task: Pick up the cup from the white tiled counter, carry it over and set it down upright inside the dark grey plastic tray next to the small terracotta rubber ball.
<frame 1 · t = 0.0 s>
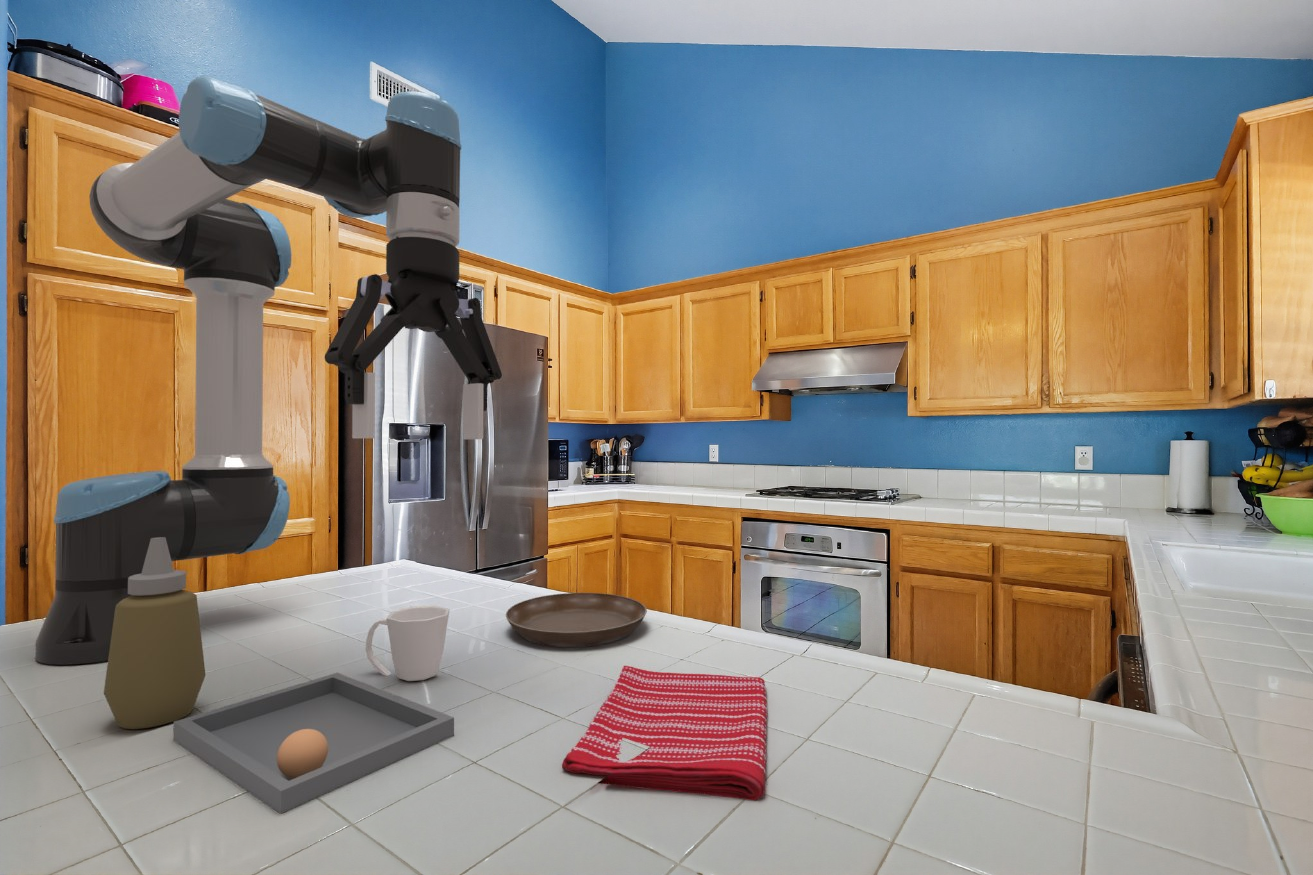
hand: (422, 439, 69), 28 cm above the countertop, fingers open, 13 cm apart
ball: (302, 775, 51), point 1 cm above the countertop, touching tray
dish towel: (677, 735, 61), on the countertop
cup: (406, 684, 73), on the countertop
squeeze bottle: (156, 720, 63), on the countertop
plant saucer: (577, 632, 94), on the countertop
tray: (314, 746, 58), on the countertop
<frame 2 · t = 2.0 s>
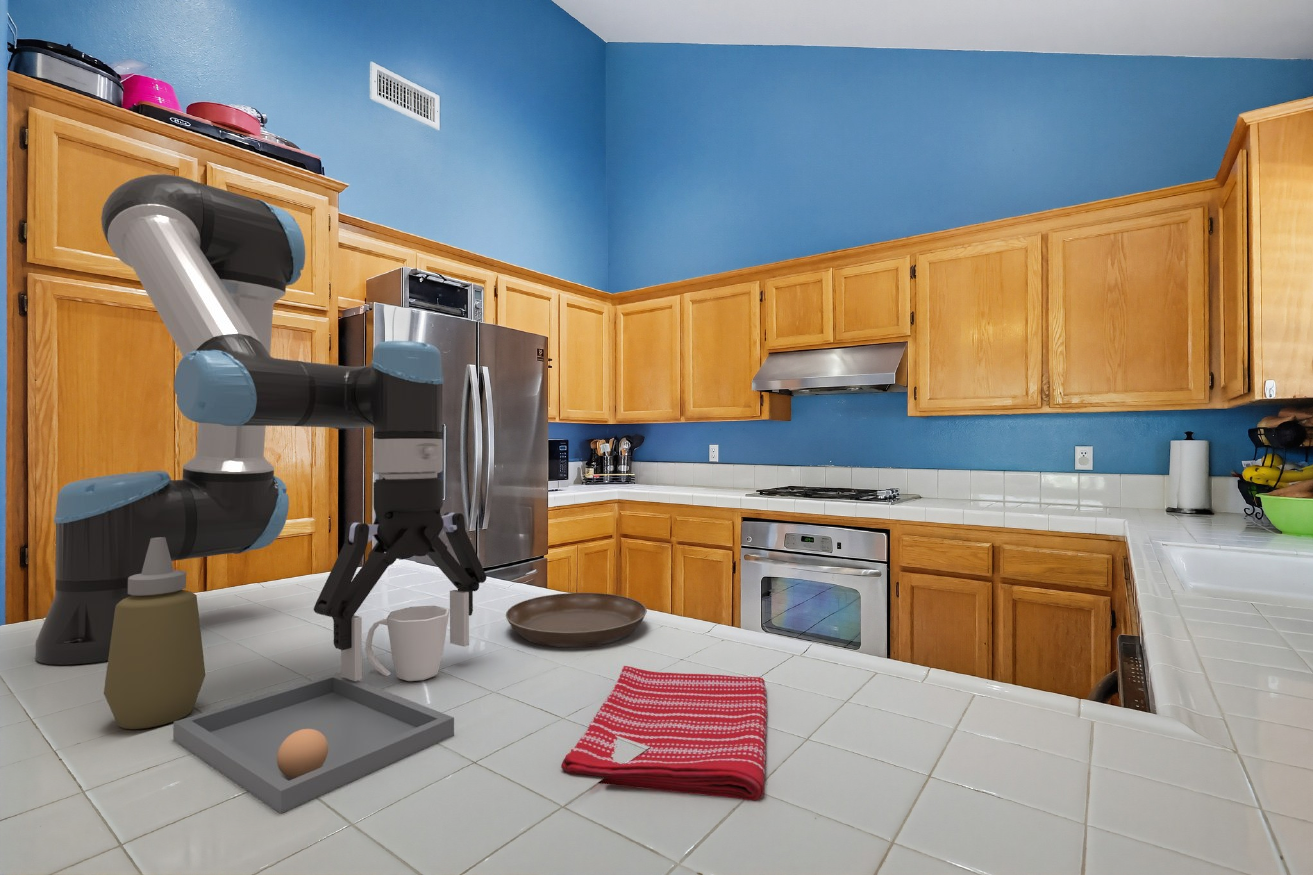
hand: (409, 661, 73), 2 cm above the countertop, fingers open, 13 cm apart
nothing on the countertop moved.
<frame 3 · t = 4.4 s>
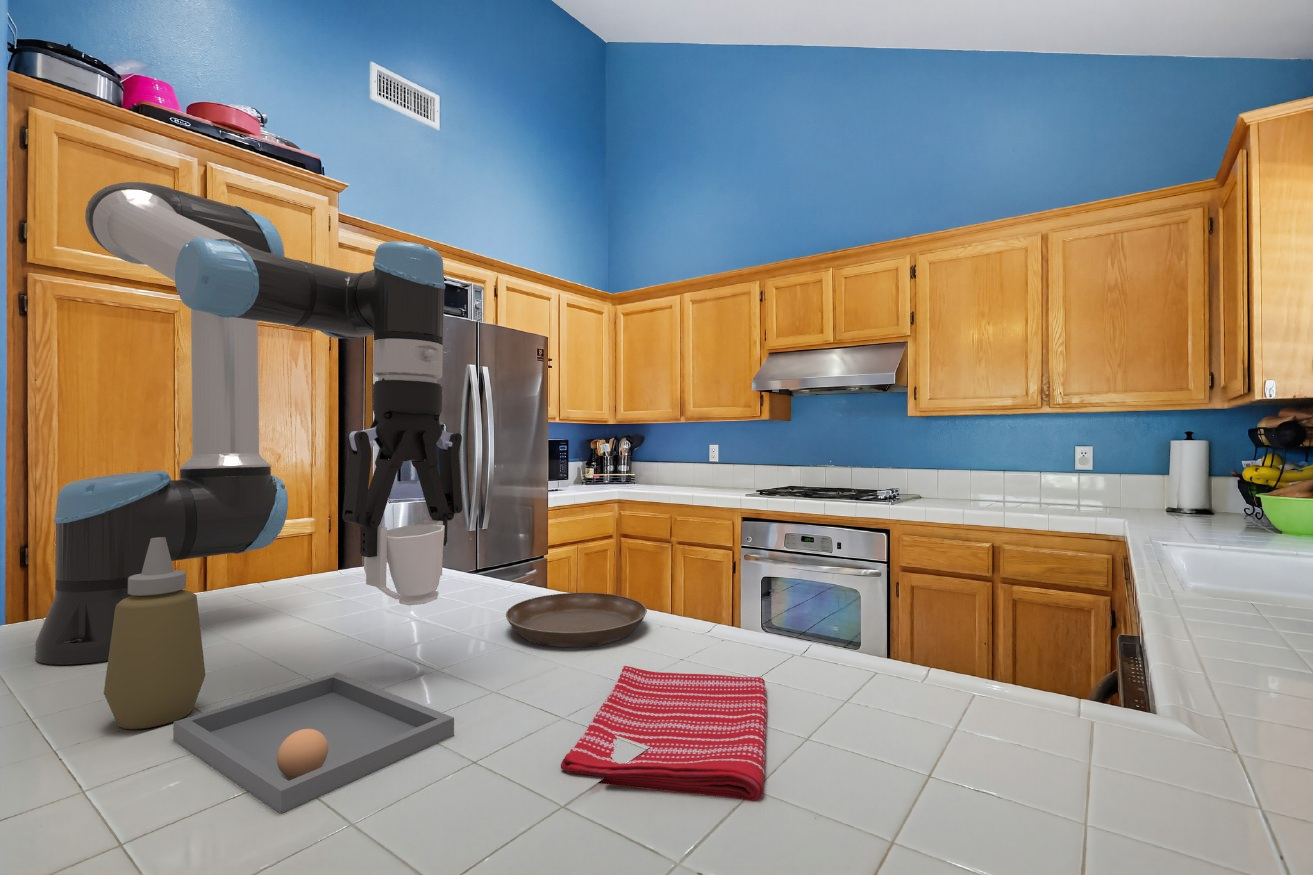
hand: (405, 579, 73), 12 cm above the countertop, fingers closed on cup, 7 cm apart
cup: (407, 600, 73), point 9 cm above the countertop, touching gripper
everything else where it was.
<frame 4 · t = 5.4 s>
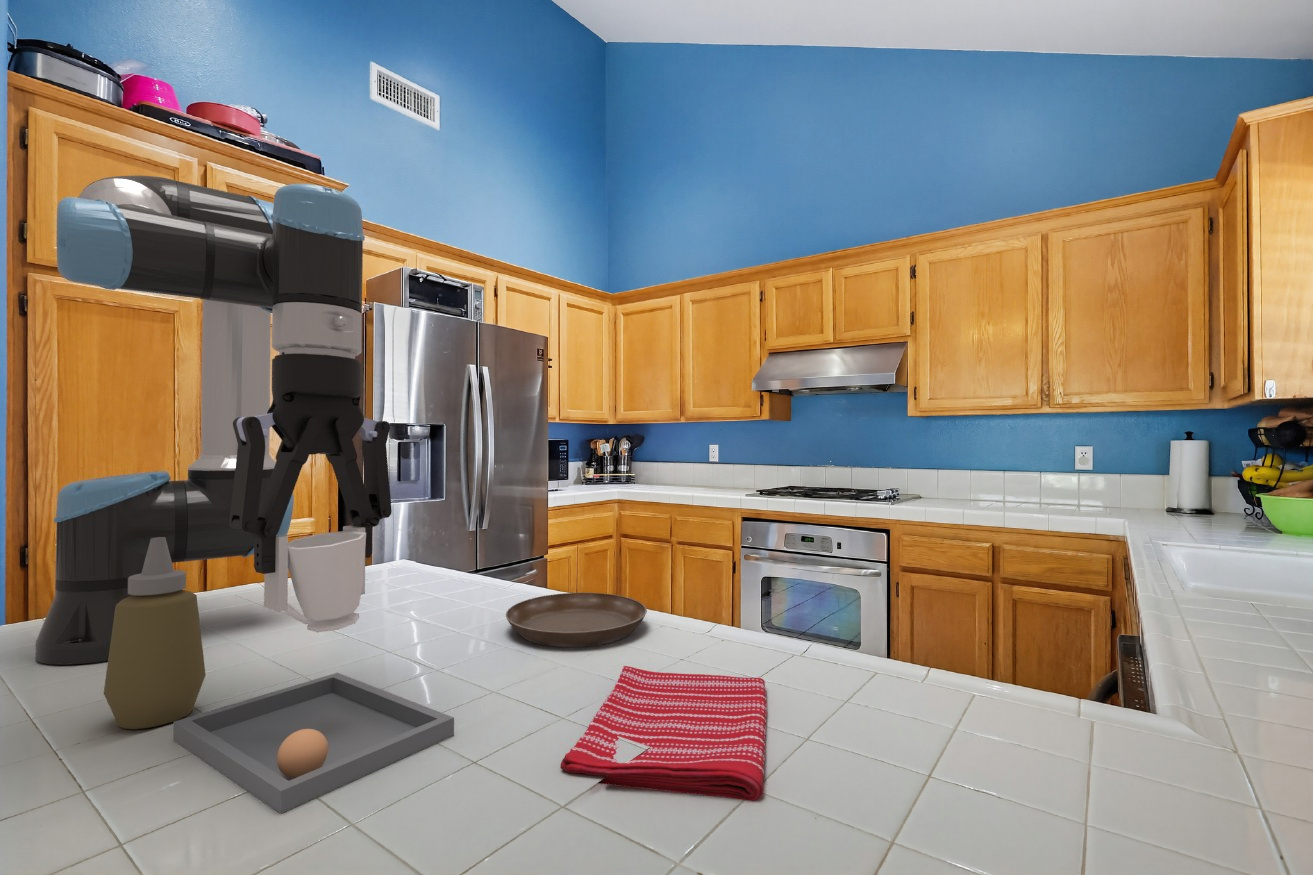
hand: (316, 599, 60), 13 cm above the countertop, fingers closed on cup, 7 cm apart
cup: (320, 625, 60), point 10 cm above the countertop, touching gripper
everything else where it was.
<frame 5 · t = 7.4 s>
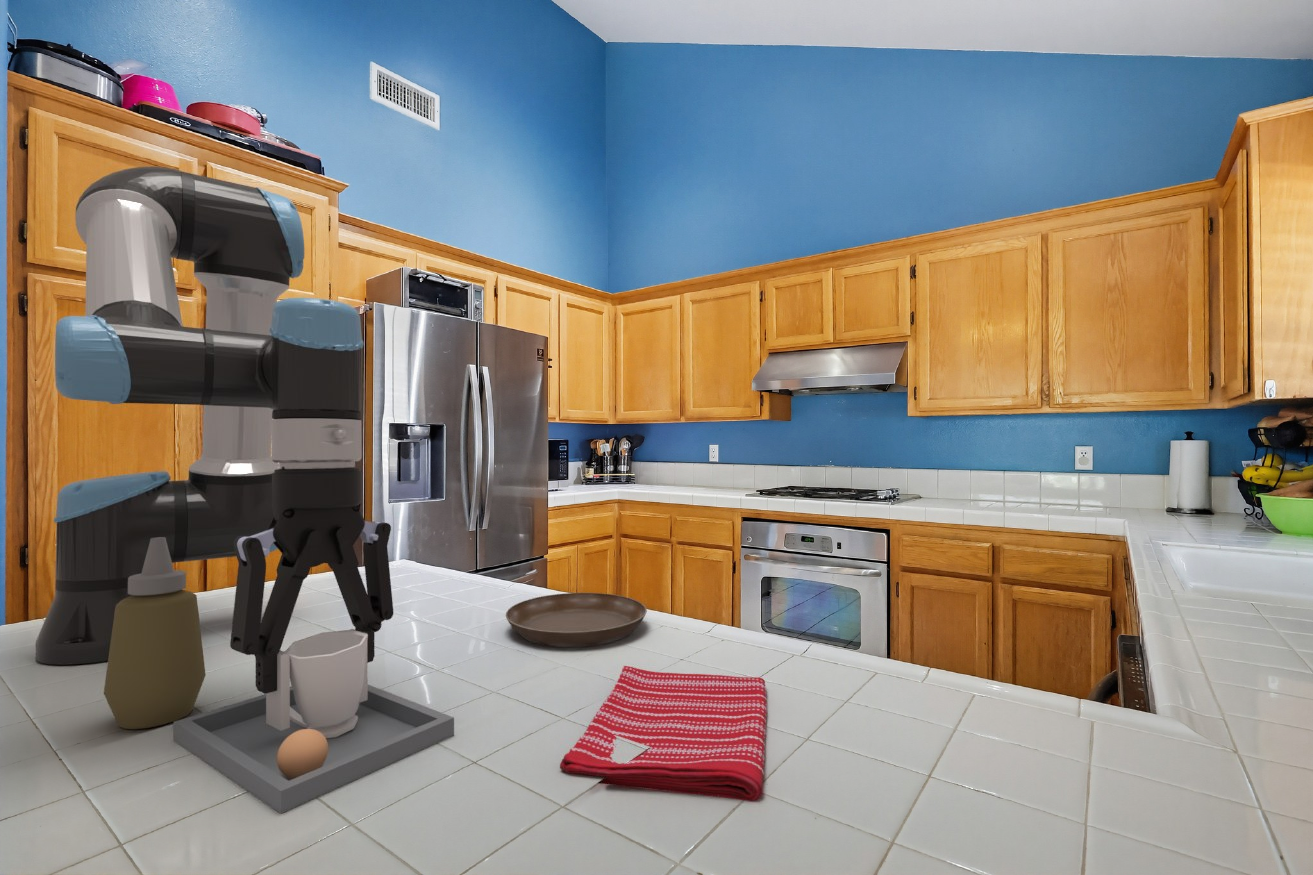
hand: (319, 710, 59), 2 cm above the countertop, fingers closed on cup, 7 cm apart
cup: (318, 728, 59), point 1 cm above the countertop, touching gripper, tray
everything else where it was.
when the fingers open (2 cm above the countertop, at t = 8.0 s): cup stays where it is, resting on tray.
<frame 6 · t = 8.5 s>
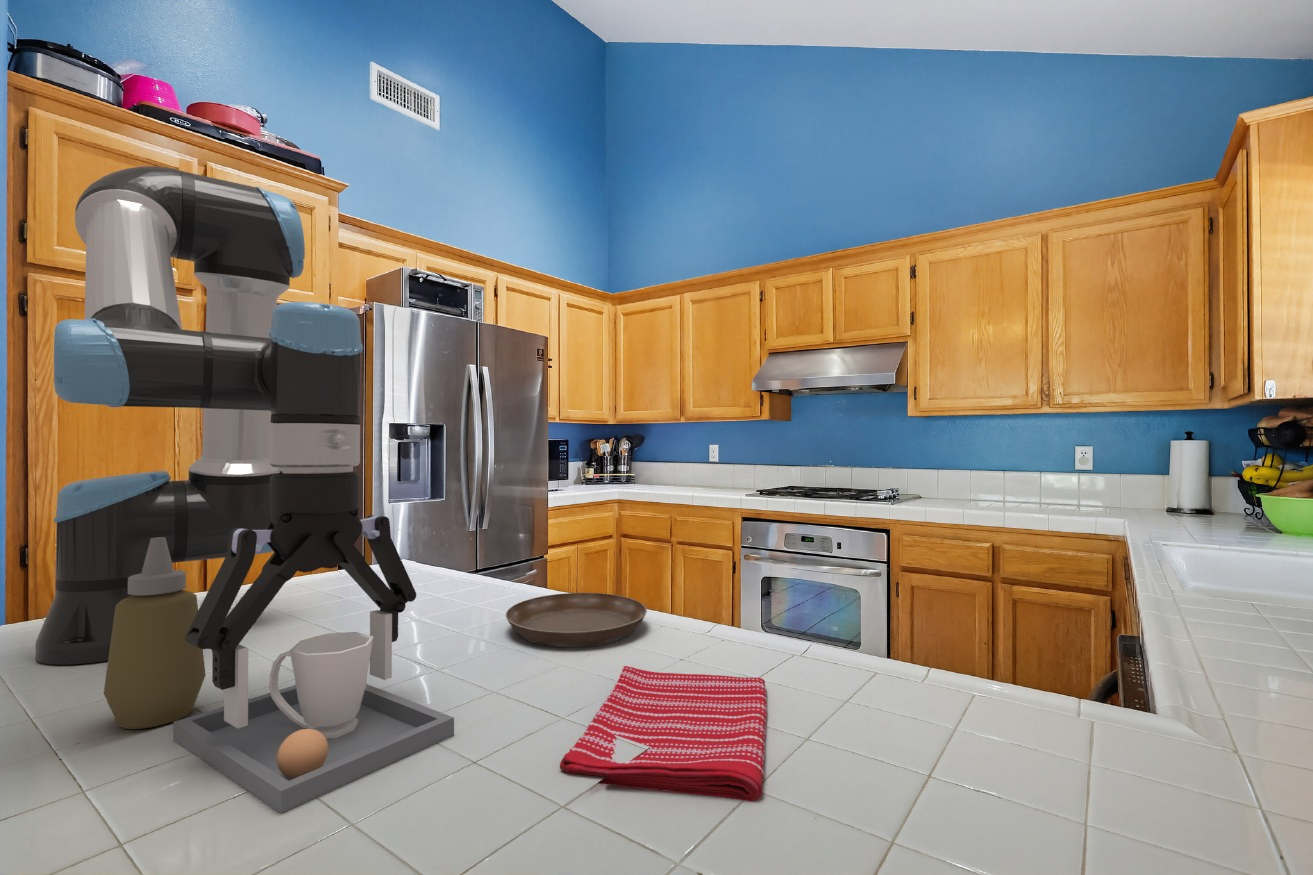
hand: (314, 697, 60), 4 cm above the countertop, fingers open, 13 cm apart
cup: (318, 729, 59), point 1 cm above the countertop, touching tray
everything else where it was.
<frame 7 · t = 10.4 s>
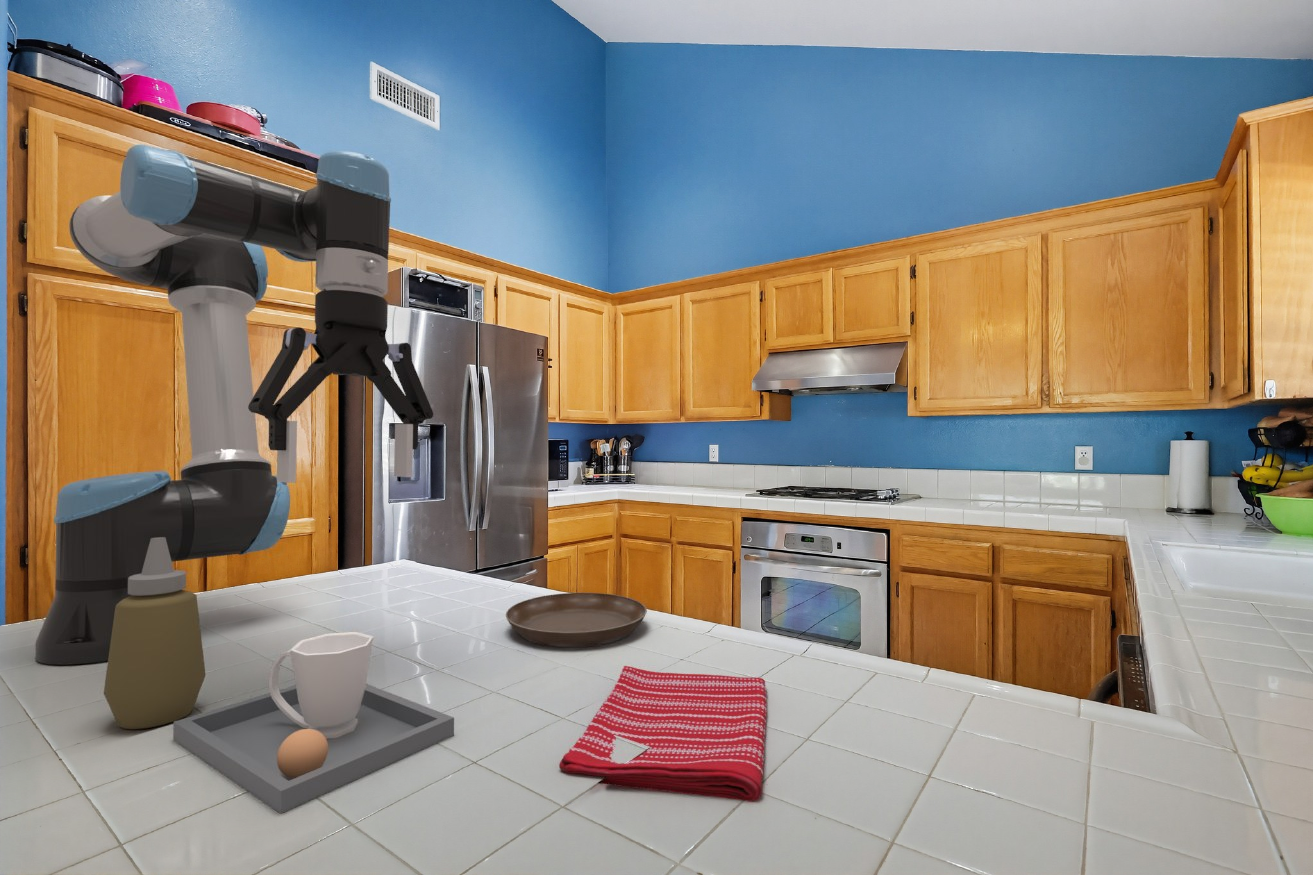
hand: (349, 479, 73), 23 cm above the countertop, fingers open, 13 cm apart
nothing on the countertop moved.
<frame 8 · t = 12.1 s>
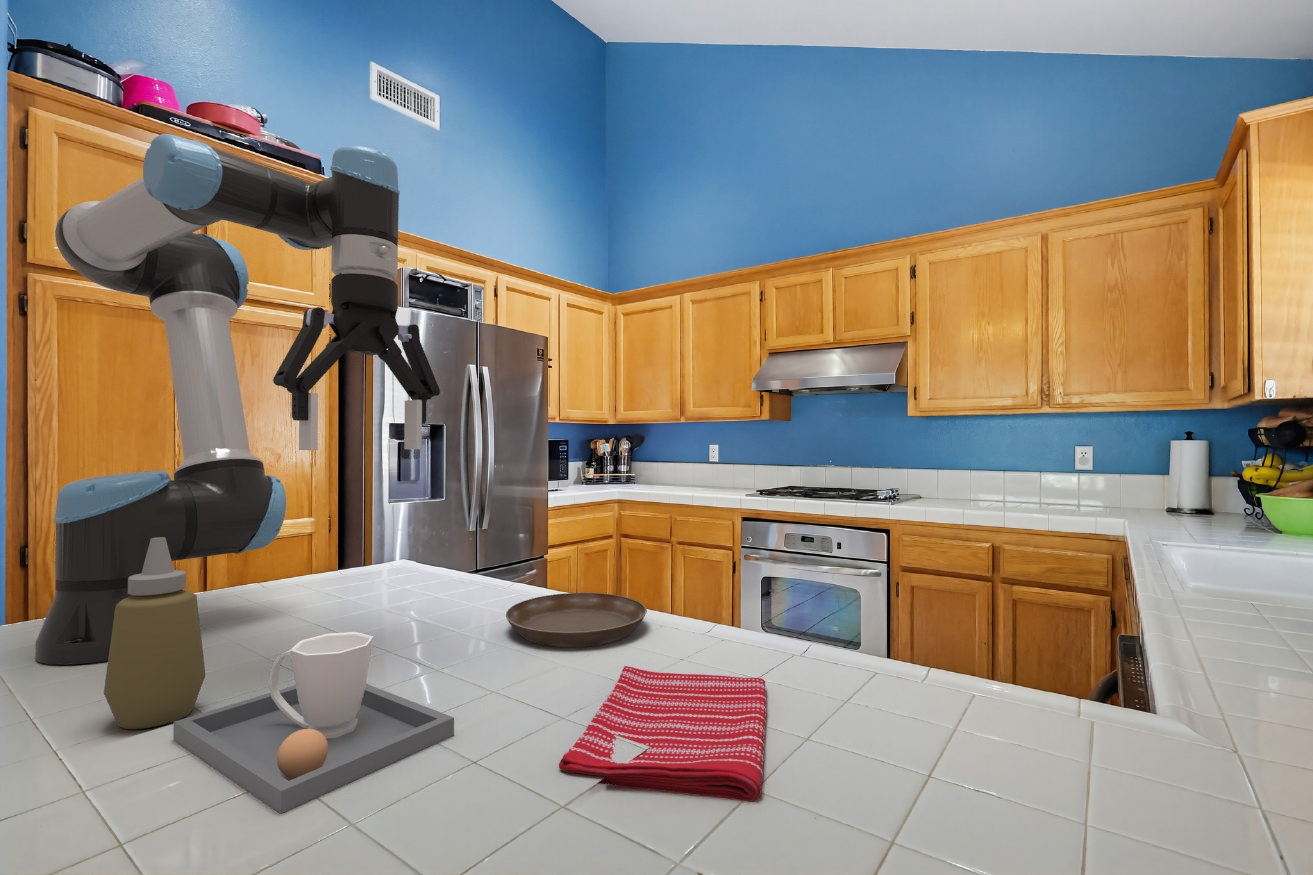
hand: (364, 450, 78), 27 cm above the countertop, fingers open, 13 cm apart
nothing on the countertop moved.
at the end: cup inside the target area on the tray (2.1 cm from its centre), point 0.6 cm above the tray's base; cup tilted 0°; the gripper is holding nothing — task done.
